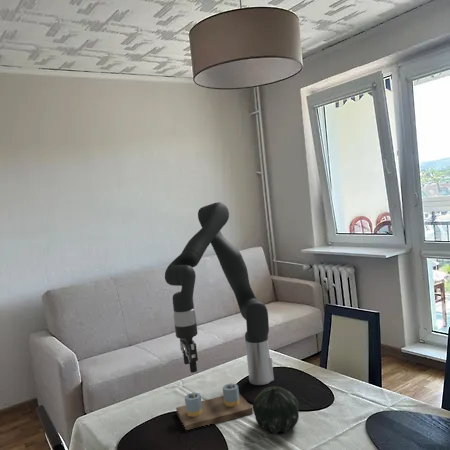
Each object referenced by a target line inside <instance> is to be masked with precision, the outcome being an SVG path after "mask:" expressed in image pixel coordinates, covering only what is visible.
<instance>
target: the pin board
mask: <svg viewBox="0 0 450 450" xmlns="http://www.w3.org/2000/svg"><path fill="white" fill-rule="evenodd" d="M229 384H230V383H229ZM232 388H233V386H232V385H231V384H230V385H229V386H228V389H232ZM191 398H195V394H191ZM239 398H240V403H239V404H238V405H236V406H233V407H230V406H226V405H225V404H224V396H223V395H221V396H217V397H213V398H209V399H205V400H201V402H202V413H201V414H200V415H198V416H195V417H192V416H188V415H187V412H186V404H185V405H181V406H177V407H176V408H175V410H176V415H177V416H178V418H179V420H180V423H181V424H182V423H183V424H182V426H183V425H184V426H183V428H184V427H185V428H184V429H186V430H189V429H193V428H197V427H201V426H204V427H206V426H205V425H208V426H211V425H210V424H212V425H214V424H215V425H216V424H218V423H222V422H226V421H230V420H234V419H237V418H241V417H245V416H249V415H250V414H254V411H253V406H251V405H250V403H249V402H248V401H247V400H246V399H245V397H244V396H242V395H241V393H240V392H239ZM201 428H202V427H201ZM197 429H198V428H197ZM186 430H185V431H186ZM193 430H194V429H193Z"/></svg>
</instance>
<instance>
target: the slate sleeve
mask: <svg viewBox="0 0 450 450" xmlns="http://www.w3.org/2000/svg"><path fill="white" fill-rule="evenodd" d="M191 394H195V398H191ZM184 401H185V405H186V412H187V415H188V416H192V417H195V416H198V415H200V414H201V413H202V402H201V401H202V395H201V393H199V392H190V393H187V394H186V395H185V396H184Z"/></svg>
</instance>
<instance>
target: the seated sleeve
mask: <svg viewBox="0 0 450 450" xmlns="http://www.w3.org/2000/svg"><path fill="white" fill-rule="evenodd" d="M230 384H231V385H232V386H233V388H232V389H228V386H229V385H230ZM239 389H240V388H239V385H238V384H236V383H227V384H225V385H224V386H222V394H223V395H222V396H224V404H225V405H226V406H230V407H233V406H236V405H238V404H239V403H240V398H239V393H240V390H239Z"/></svg>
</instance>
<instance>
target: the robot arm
mask: <svg viewBox="0 0 450 450" xmlns="http://www.w3.org/2000/svg"><path fill="white" fill-rule="evenodd" d="M229 218H230V212H229V208H228V206H227V205H226V204H224V203H223V202H221V201H220V202H219V201H218V202H214V203H210V204H207V205H204V206H202V207H200V208H199V209H198V212H197V219H198V222H199V224H200V226H201V228H200V229H199V230H198V231H197V232H195V234H194V235H193V236H192V237H191V238H190V239H189V240H188V242H187V243H186V245H185V247H183V250H182V252H181V253H180V254H179V255H178V256H177V257H176V258H175V259H174V260H172V262H171V263H170V264H169V265H168V266H167V267H166V269H165V272H164V280H165V283H166V284H168V285H169V286H173V287H174V286H175V287H177V286H179V287H181V288H180V289H181V291H178V292H175V293H173V295H172V307H173V322H174V324H173V325H174V330H175V331H174V333H175V337H176V338H177V339H179V345H180V351H181V353H182V356H183V357H182V358H183V363H184V365H189V371H190V373H192V374H193V373H197V372H198V367H197V366H198V365H197V362H198V360H199V358H198V352H197V351H198V350H197V344H196V342H195V340H193V338H194V337H196V336H197V335H198V333H199V332H198V324H197V317H196V311H195V304H194V289H195V284H196V271H195V269H194V268H196V266H198V265H199V263H200V261H201V259H202V258H203V255H204V253H205V252H206V250H207V248H208V247H209V245H211V246H212V250H214V254H215V255H216V257H217V259H218V260H217V261H219V264H220V267H221V269H222V272H223V274H224V276H225V278H226V280H227V282H228V284H229V286H230V288H231V290H232V291H233V293H234V296H235V299H236V302H237V306H238V308H239V312H240V315H241V316H242V318H243V319H244V321H246V332H245V333H244V341H245V350H246V351H245V352H246V360H247V372H248V380H249V383H250V384H251V385H255V386H262V385H268V384H269V383H271V382H273V381H275V380H274V379H275V377H274V368H273V367H274V366H273V359H272V358H273V357H271V356H270V345H269V333H270V331H269V330H270V326H269V323H270V321H269V313H268V308H267V306H266V305H265V304H264V303H263V302H261V301H259V300H258V299H257V296H256V294H255V293H254V291H253V289H252V286H251V284H250V279H249V272H248V271H249V270H248V267H247V265H246V262H245V260H244V258H243V256H242V254H241V252H240V250H238V248H237V247H235V246H234V245H233V244H232V242H230V241H228V240H227V238H226V237H224V235H223V234H222V231H221V230H222V229H223V228H224V226H225V225H226V224H227V222H228V221H229ZM192 356H193V357H192Z"/></svg>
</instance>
